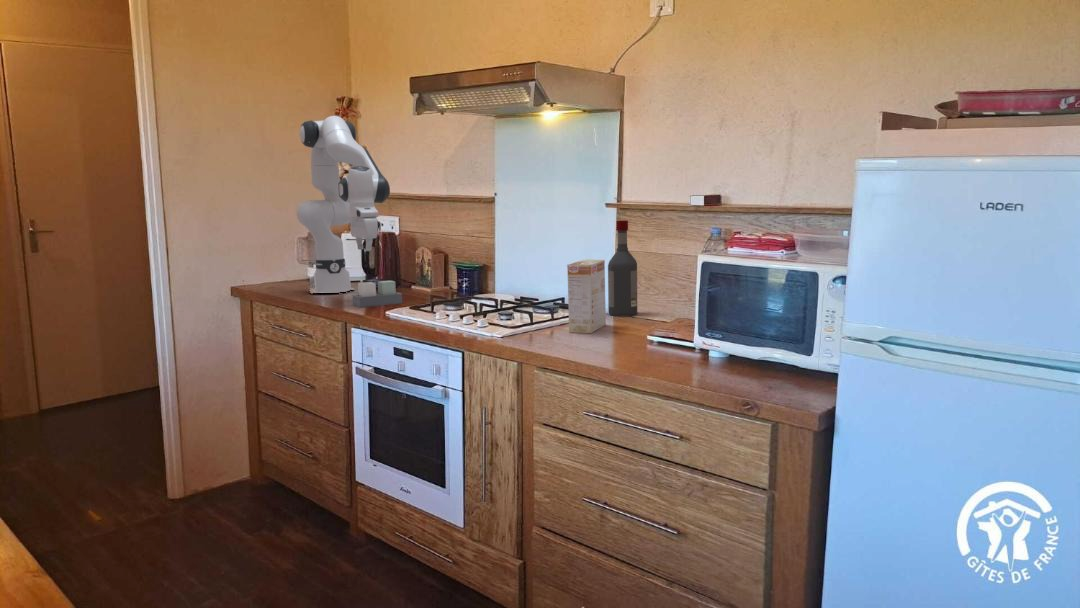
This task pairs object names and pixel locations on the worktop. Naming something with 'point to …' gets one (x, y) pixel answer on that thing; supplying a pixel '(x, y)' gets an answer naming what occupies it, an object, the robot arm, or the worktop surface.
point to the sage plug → (386, 287)
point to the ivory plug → (367, 289)
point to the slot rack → (377, 300)
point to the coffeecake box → (586, 295)
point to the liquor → (622, 277)
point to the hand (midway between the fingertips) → (364, 250)
